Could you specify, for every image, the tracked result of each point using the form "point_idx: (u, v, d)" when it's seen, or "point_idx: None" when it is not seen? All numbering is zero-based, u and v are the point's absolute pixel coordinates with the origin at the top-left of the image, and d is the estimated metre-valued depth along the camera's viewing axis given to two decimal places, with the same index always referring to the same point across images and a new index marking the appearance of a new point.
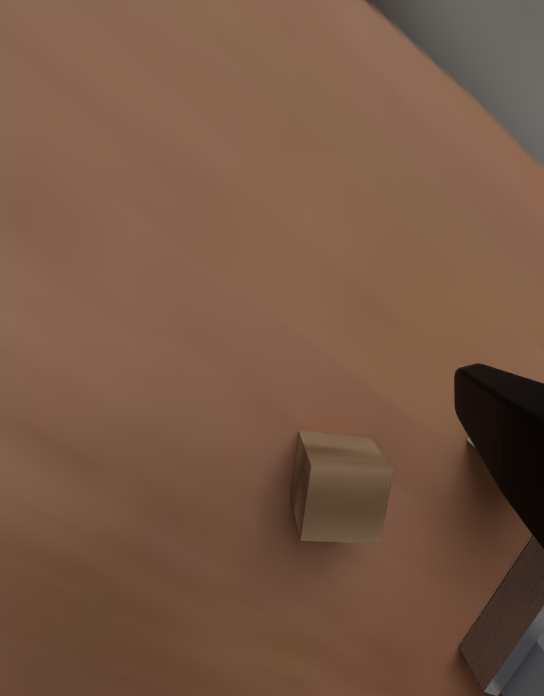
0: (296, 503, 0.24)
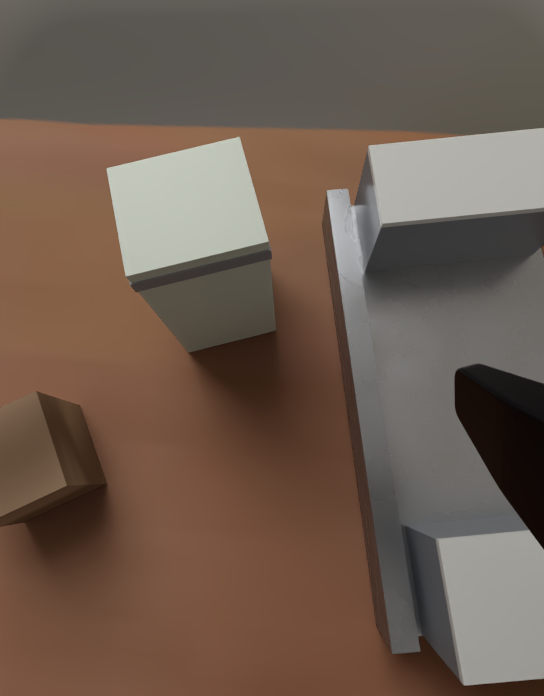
0: None
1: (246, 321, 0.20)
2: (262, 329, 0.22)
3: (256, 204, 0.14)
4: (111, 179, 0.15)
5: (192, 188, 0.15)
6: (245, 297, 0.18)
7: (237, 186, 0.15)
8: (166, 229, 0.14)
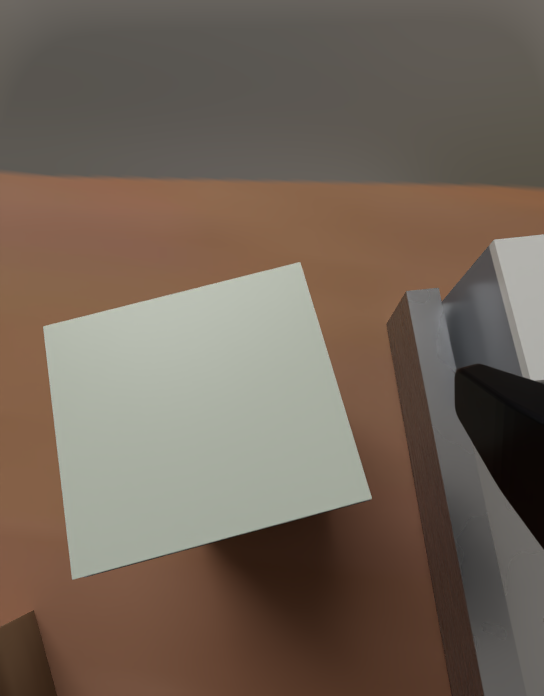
0: None
1: None
2: None
3: (341, 409, 0.07)
4: (51, 351, 0.08)
5: (211, 372, 0.07)
6: None
7: (300, 368, 0.07)
8: (158, 466, 0.07)
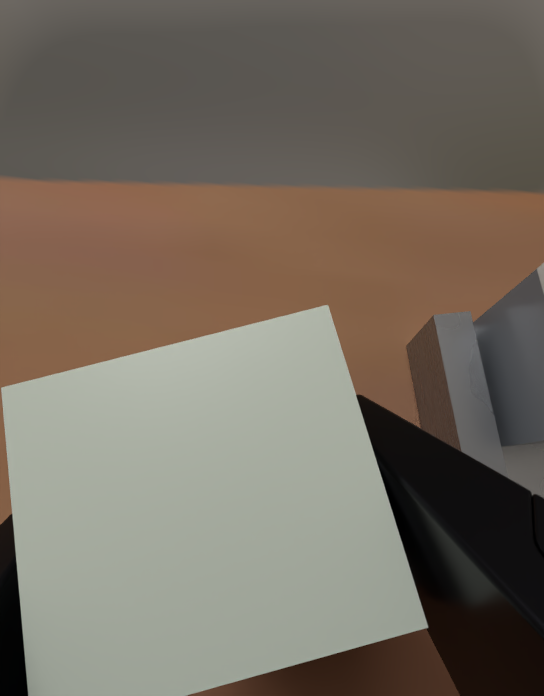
0: None
1: None
2: None
3: (384, 502, 0.05)
4: (11, 420, 0.06)
5: (215, 451, 0.06)
6: None
7: (331, 447, 0.06)
8: (147, 579, 0.05)
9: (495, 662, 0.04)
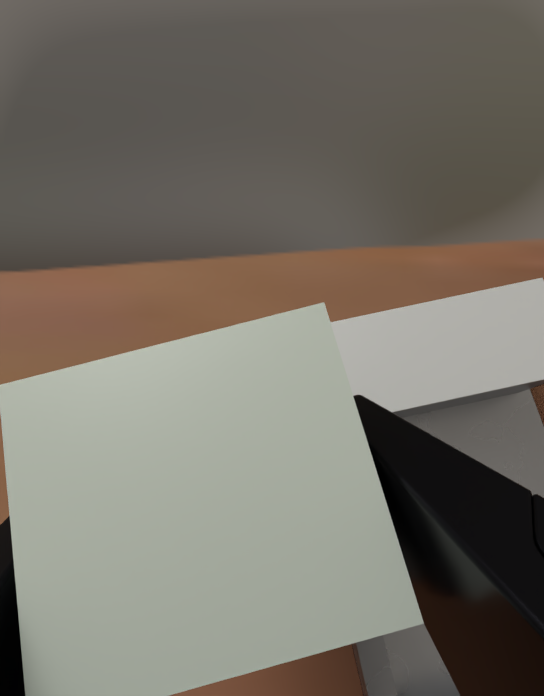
0: None
1: None
2: None
3: (380, 499, 0.06)
4: (8, 418, 0.06)
5: (211, 448, 0.06)
6: None
7: (327, 443, 0.06)
8: (144, 575, 0.05)
9: (495, 662, 0.04)
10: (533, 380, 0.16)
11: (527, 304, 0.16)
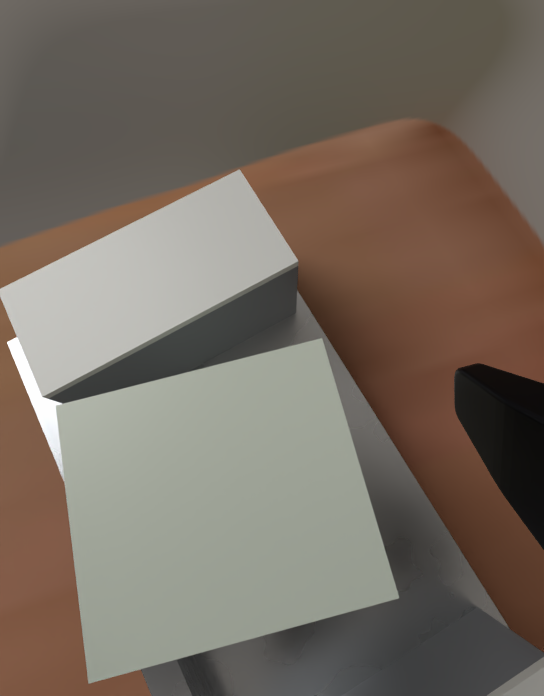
0: None
1: None
2: None
3: (366, 499, 0.07)
4: (64, 432, 0.07)
5: (230, 458, 0.07)
6: None
7: (324, 455, 0.07)
8: (176, 560, 0.07)
9: None
10: (247, 286, 0.13)
11: (227, 203, 0.14)
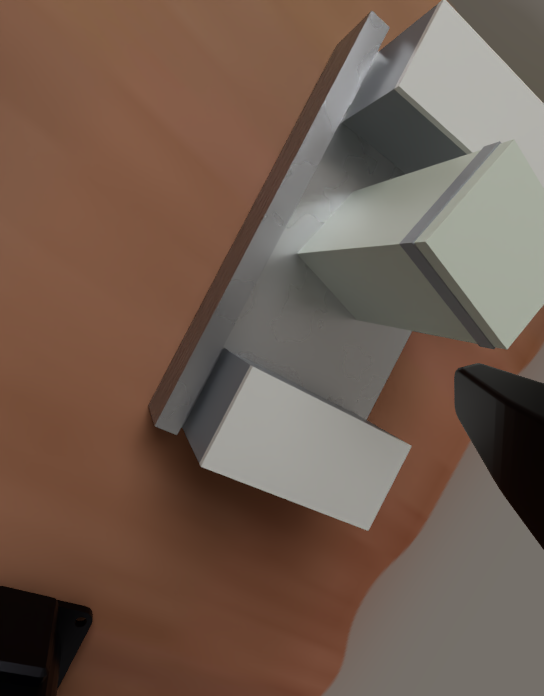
0: None
1: (365, 304, 0.20)
2: (356, 311, 0.21)
3: (532, 315, 0.14)
4: (506, 153, 0.13)
5: (525, 245, 0.13)
6: (408, 314, 0.17)
7: (541, 286, 0.14)
8: (482, 248, 0.13)
9: None
10: None
11: None
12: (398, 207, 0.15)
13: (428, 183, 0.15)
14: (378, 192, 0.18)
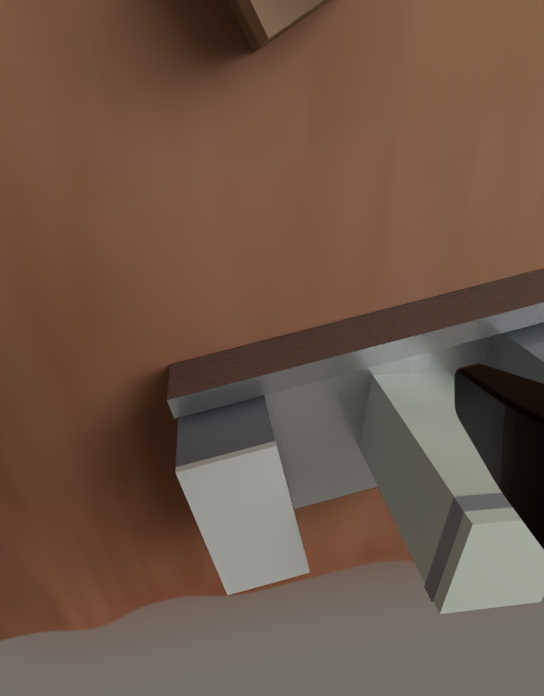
0: None
1: (378, 458, 0.21)
2: (365, 446, 0.23)
3: (475, 608, 0.16)
4: None
5: (519, 571, 0.16)
6: (401, 507, 0.19)
7: (498, 598, 0.16)
8: (495, 553, 0.15)
9: None
10: None
11: None
12: (472, 452, 0.17)
13: None
14: None
